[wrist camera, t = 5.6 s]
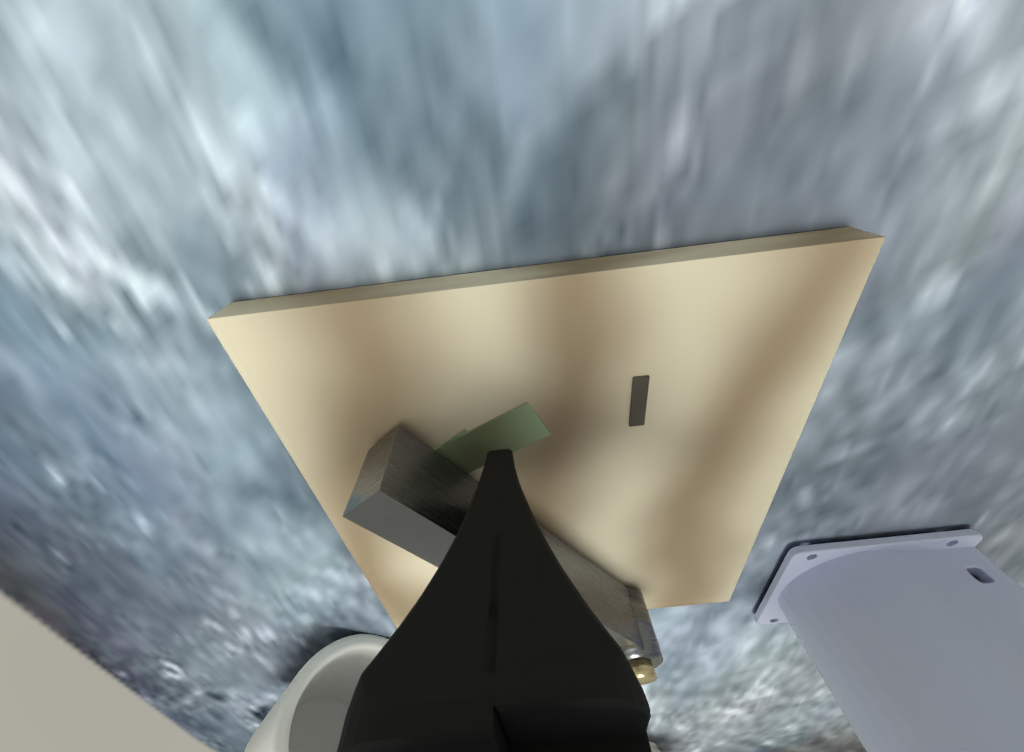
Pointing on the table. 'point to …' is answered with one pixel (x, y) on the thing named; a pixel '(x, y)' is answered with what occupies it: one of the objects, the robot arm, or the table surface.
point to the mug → (317, 699)
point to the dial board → (571, 394)
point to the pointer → (439, 514)
